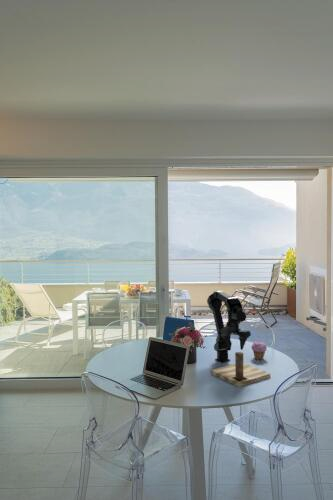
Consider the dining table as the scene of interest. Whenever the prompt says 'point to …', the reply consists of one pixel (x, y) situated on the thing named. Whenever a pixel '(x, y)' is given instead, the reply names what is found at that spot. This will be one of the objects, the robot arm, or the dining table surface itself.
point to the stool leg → (239, 366)
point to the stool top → (249, 374)
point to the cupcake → (259, 349)
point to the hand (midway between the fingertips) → (235, 348)
